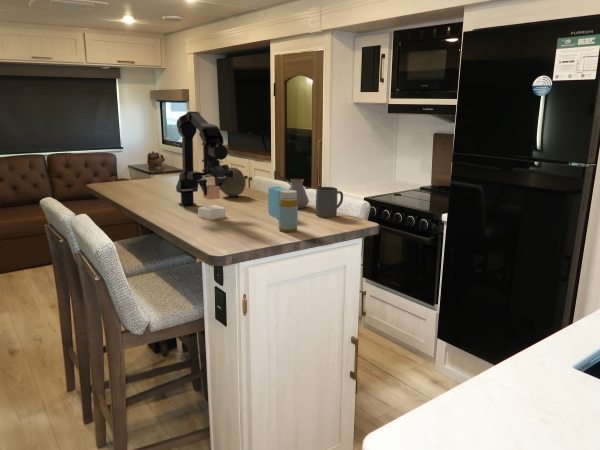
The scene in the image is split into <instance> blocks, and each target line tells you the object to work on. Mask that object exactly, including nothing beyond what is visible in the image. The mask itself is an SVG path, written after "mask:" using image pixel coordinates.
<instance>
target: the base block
mask: <svg viewBox="0 0 600 450" xmlns="http://www.w3.org/2000/svg"><path fill="white" fill-rule="evenodd" d="M197 209H198V210H197V214H198V217H199V218H202V219H207V220H215V219H221V218H225V217H227V215H226V207H222V206H218V205H213V204H211V205H207V206H201V207H197Z"/></svg>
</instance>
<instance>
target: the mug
mask: <svg viewBox="0 0 600 450" xmlns="http://www.w3.org/2000/svg"><path fill="white" fill-rule="evenodd" d="M315 192H316V193H315V216H316V217H317V216H318V217H317V218H321V217H326V218H325V219H329V218H328V217H334V218H336V217H337V211H338V209H339V208H340V207H341V205H342V203H343V201H344V193H343V191H341V190H338V188H337V187H334V186H333V187H332V186H319V187H316V191H315ZM338 194H339V195H340V200H339V202H338ZM335 216H336V217H335Z"/></svg>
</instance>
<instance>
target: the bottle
mask: <svg viewBox="0 0 600 450" xmlns="http://www.w3.org/2000/svg"><path fill="white" fill-rule="evenodd" d="M296 197H297V191H295V190H289V189H286V190H281V191H280V202H279V219H278V230H279V232H282V231H283V233H294V232H293V231H295V232H296V231H297V230H298V215H299V214H298V213H299V212H298V211H299V210H298V209H299V208H298V203H297V200H296V199H297V198H296Z"/></svg>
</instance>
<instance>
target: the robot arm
mask: <svg viewBox="0 0 600 450" xmlns="http://www.w3.org/2000/svg"><path fill="white" fill-rule="evenodd" d="M176 127H177V132H178V133H179V136H180V137H181V148H182V149H181V151H182V152H181V154H182V157H181V158H182V171H181V172H180V174H179V175H178V177H179V178H178V181H177V183H176V187H175V189H176V192H177V193H179V194H180V202H178V203H177V204H178V205H180V206H182V207H187V206H188V207H190V206H197V205H198V203H196V202H195V201H194V192H198V188H199V187H200V189H201V190H202V194H203V193H204V195H205V196H207V189H206V186H207V182H208V179H206V178H210V177H213V178H214V185H216V186H219V187H220V188H221V185H222V183H223V181H224V180H227V178H225V176H227V177H234V172H233V171H232V170H229V168H230V167H229V164H223V165H221V164H220V161H222V160H225V159H226V158H227V157H228V153H229V152H228V149H227V147H226V146H225V145H224V143H225V142H224V137H223V135H222V134H223V133H221V130H220V128H219V127H218V126H217V125H215V124H213V123H209V121H207V120H206V119H205V118H204V117H203V116H202V115H201V113H200V112H199V111H187V112H186V113H185V114H183V115H181V116H179V118H178V119H177V121H176ZM197 130H198V131H199V137H200V139H201V141H202V143H201V145H202V151H203V152H202V153H203V158H202V159H201V162H202V163H203V169H202V170H201V171H202V172H200V171H196V170H195V171H194V137H195V135H196V134H197Z"/></svg>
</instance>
